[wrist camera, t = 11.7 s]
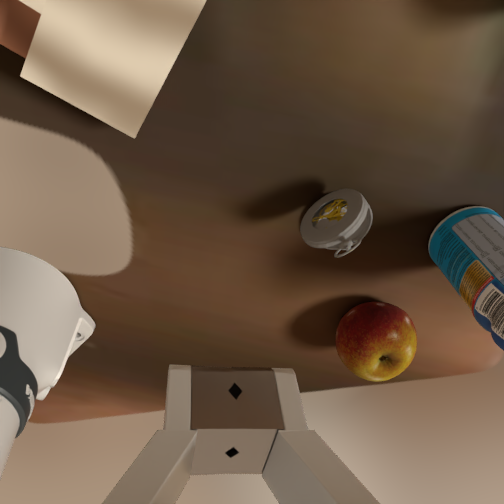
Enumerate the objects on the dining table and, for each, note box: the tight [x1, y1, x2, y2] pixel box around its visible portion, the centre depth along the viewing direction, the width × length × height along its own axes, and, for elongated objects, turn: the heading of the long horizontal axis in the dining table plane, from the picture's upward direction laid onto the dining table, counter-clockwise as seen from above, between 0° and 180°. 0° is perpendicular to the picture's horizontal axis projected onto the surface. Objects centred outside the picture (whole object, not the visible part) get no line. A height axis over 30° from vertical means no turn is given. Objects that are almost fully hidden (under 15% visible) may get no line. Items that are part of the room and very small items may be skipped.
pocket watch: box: [300, 189, 373, 258], centre depth 39 cm, size 8×8×10 cm
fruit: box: [335, 302, 417, 381], centre depth 49 cm, size 10×9×8 cm
